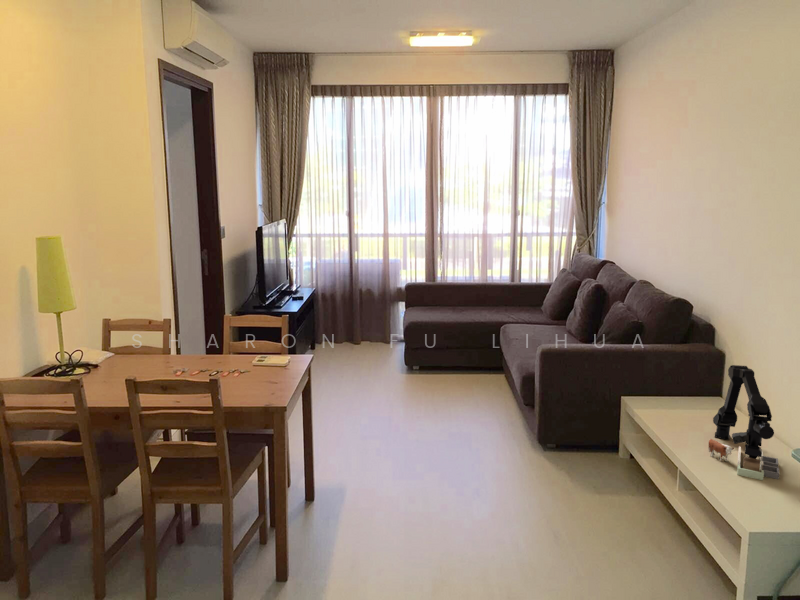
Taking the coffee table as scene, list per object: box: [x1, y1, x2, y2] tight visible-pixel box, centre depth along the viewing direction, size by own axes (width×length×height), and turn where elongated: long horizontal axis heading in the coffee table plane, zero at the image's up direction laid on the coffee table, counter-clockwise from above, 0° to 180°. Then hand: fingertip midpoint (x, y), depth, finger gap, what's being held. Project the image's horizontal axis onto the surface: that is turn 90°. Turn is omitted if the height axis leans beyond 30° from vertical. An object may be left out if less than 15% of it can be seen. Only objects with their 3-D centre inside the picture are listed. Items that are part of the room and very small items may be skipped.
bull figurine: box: [708, 438, 735, 463], centre depth 283 cm, size 4×13×8 cm, turn 15°
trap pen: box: [736, 445, 780, 481], centre depth 277 cm, size 27×15×3 cm, turn 151°
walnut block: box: [742, 456, 761, 472], centre depth 272 cm, size 6×6×5 cm
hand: (750, 463), depth 276 cm, fingers closed
